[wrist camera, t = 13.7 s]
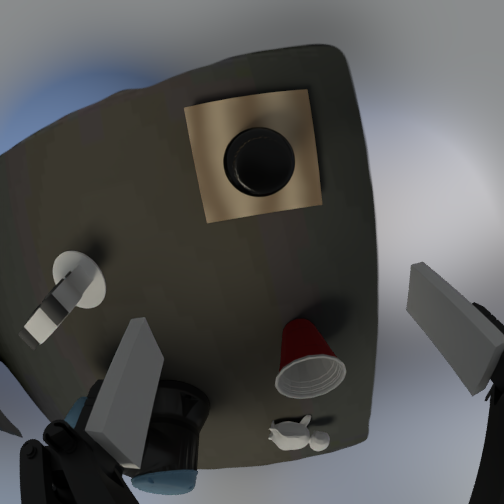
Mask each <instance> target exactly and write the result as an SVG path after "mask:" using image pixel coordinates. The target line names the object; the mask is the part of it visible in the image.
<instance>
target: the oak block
mask: <svg viewBox="0 0 504 504" xmlns="http://www.w3.org/2000/svg"><path fill="white" fill-rule="evenodd" d="M184 110H185V116H186V121H187V127H188V132H189V137H190V143H191V148H192V153H193V158H194V163H195V168H196V173H197V178H198V183H199V187H200V192H201V197H202V201H203V206H204V211H205V215H206V220H207V223H212V222H217V221H223V220H229V219H234V218H240V217H246V216H252V215H258V214H264V213H270V212H276V211H283V210H289V209H296V208H302V207H309V206H316V205H322V197H321V186H320V177H319V168H318V159H317V151H316V143H315V136H314V128H313V121H312V115H311V108H310V102H309V96H308V90H307V89H304V90H291V91H281V92H272V93H264V94H256V95H249V96H242V97H236V98H230V99H224V100H219V101H214V102H209V103H204V104H199V105H195V106H190V107H186V108H184ZM252 127H266V128H270V129H273V130H275V131H277V132H279V133H280V134H282V135H283V136H284V137H285V138H286V139H287V140H288V142H289V143H290V145H291V146H292V149H293V151H294V155H295V169H294V173H293V175H292V177H291V179H290V181H289V182H288V184H287V185H286V186H285V187H284V188H283V189H282V190H280V191H279V192H277V193H275V194H273V195H270V196H266V197H253V196H248V195H246V194H243V193H241V192H240V191H238V190H237V189H236V188H234V187H233V186H232V184H231V183H230V182H229V180H228V179H227V177H226V174H225V171H224V166H223V157H224V153H225V150H226V147H227V145H228V143H229V142H230V141H231V139H232V138H233V137H234V136H235V135H237V134H238V133H239V132H241V131H243V130H245V129H248V128H252Z"/></svg>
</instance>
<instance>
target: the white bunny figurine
mask: <svg viewBox="0 0 504 504" xmlns="http://www.w3.org/2000/svg"><path fill="white" fill-rule="evenodd" d="M310 420H311V415H306V416H305V417H304V418H303V419H302V420H301V422H300V423H296V422H291V421H286V422H281V423H279V424H276V425H275V424H274V420H273V421H272V424H271V427H270V429H269V430H271V433H270V435H269V438H268V439H269V440H272V441H273V442H274V443H275V444H276V445H277V446H278V447H279V448H280V449H282V450H292V449H293V450H295V449H301V448H303V447H305V446H306V445H307V444H308V443H310V447H311V448H312V449H313V450H315V451H322V450H324V449H326V448H327V447H328V445H329V441H330V438H329V435H328V434H327V433H326V432H319V431H315V432H314V433H313V434H312V435H311V436H310V433H309V430H308V428H307V425H308V424H309V422H310Z"/></svg>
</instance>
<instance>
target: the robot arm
mask: <svg viewBox="0 0 504 504" xmlns="http://www.w3.org/2000/svg"><path fill="white" fill-rule="evenodd" d="M406 310H407V312H408V313H409V314H410V315H411V316H412V318H413V319H414V320H415V321H416V322H417V324H418V325H419V326H420V327H421V329H422V330H423V331H424V332H425V333H426V335H427V336H428V337H429V338H430V340H431V341H432V342H433V344H434V345H435V346H436V347H437V349H438V350H439V351H440V352H441V354H442V355H443V356H444V358H445V359H446V360H447V362H448V363H449V364H450V365H451V367H452V368H453V370H454V371H455V372H456V374H457V375H458V377H459V378H460V379H461V381H462V382H463V384H464V385H465V386H466V387H467V389H468V391H469V392H470V393H471V395H472V396H474V395H475V394H477V393H479V392H480V391H482V390H484V389H485V388H486V386H487V384H488V382H489V380H490V379H491V381H492V382H493V385H492V387H491V389H490V391H489V393H488V394H487V396H486V399H485V401H487V400H488V398H489V397H490V395H491V398H490V409H489V416H488V424H487V431H486V437H485V443H484V448H483V452H482V457H481V462H480V466H479V470H478V474H477V478H476V481H475V485H474V488H473V491H472V495H471V498H470V501H469V504H504V325H503V324H502V323H501V322H500V321H499V320H496V318H495V317H494V316H493V315H491V313H490V312H489V311H488V310H487V309H486V308H485V307H483V306H481V305H479V304H477V303H475V302H474V303H472V304H471V303H470V302H469V301H468V300H467V299H466V298H465V297H464V296H463V295H461V294H460V293H459V292H458V291H457V290H456V289H454V288H453V287H452V286H451V285H450V284H449V283H447V281H445V280H444V279H443V278H441V276H439V275H438V274H437V273H436V272H435V271H433V270H432V269H431V268H430V267H429V266H427V265H426V264H425V263H424V262H420V263H417V264H413V265H411V271H410V283H409V292H408V302H407V309H406ZM163 362H164V357H163V355H162V353H161V351H160V349H159V347H158V345H157V343H156V340H155V338H154V336H153V334H152V332H151V330H150V327H149V325H148V323H147V321H146V318H145V317H142V318H135V319H131V321H130V323H129V325H128V327H127V329H126V331H125V333H124V336H123V338H122V340H121V342H120V344H119V347H118V349H117V351H116V353H115V356H114V358H113V360H112V362H111V365H110V367H109V369H108V372H107V374H106V377H105V379H104V380H97V382H96V383H95V384H94V385H93V386H92V387H91V389H90V391H89V394H88V396H87V397H81V398H79V399H78V400H77V401H76V402H75V404H74V405H73V407H72V408H71V410H70V411H69V413H68V414H67V416H66V418H65V419H64V420H55V421H53V422H51V423H50V424H49V425H48V426H47V427H46V429H45V430H44V433H43V440H44V441H45V442H46V443H47V444H48V445H49V446H43V445H42V444H41V443H40V442H39V441H38V440H35V439H30V440H28V441H26V442H25V444H23V446H22V448H21V450H20V491H21V504H139V503H138V501H137V500H136V498H135V497H134V495H133V494H132V492H131V491H130V489H129V488H128V486H127V485H126V483H125V482H124V480H123V478H122V474H124V475H126V476H129V477H131V478H132V479H131V482H132V485H133V486H134V487H135V488H138V489H139V490H142V491H145V492H149V493H154V494H162V495H179V494H185V493H188V492H190V491H192V490H193V489H194V487H195V483H196V476H197V474H198V471H197V462H198V446H199V433H200V431H201V429H202V427H203V425H204V423H205V421H206V419H207V417H208V415H209V408H210V403H209V400H208V398H207V396H206V395H205V394H204V393H203V392H201V391H200V390H199V389H197V388H195V387H193V386H191V385H189V384H186V383H182V382H178V381H170V380H163V381H159V378H160V374H161V370H162V366H163ZM52 485H53V486H52Z"/></svg>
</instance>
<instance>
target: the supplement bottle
mask: <svg viewBox="0 0 504 504" xmlns="http://www.w3.org/2000/svg"><path fill="white" fill-rule="evenodd" d="M223 166H224V171H225V174H226V177H227V179H228V180H229V182H230V183H231V184H232V186H233V187H234V188H236V189H237V190H238V191H240V192H241V193H243V194H246V195H248V196H253V197H266V196H270V195H273V194H275V193H277V192H279V191H280V190H282V189H283V188H284V187H285V186H286V185H287V184H288V182H289V181H290V179H291V177H292V175H293V173H294V169H295V155H294V151H293V149H292V146H291V145H290V143H289V142H288V140H287V139H286V138H285V137H284V136H283V135H282V134H280V133H279V132H277V131H275V130H273V129H270V128H266V127H252V128H248V129H245V130H243V131H241V132H239V133H238V134H237V135H235V136H234V137H233V138H232V139H231V141H230V142H229V143H228V145H227V147H226V150H225V153H224V157H223Z"/></svg>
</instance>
